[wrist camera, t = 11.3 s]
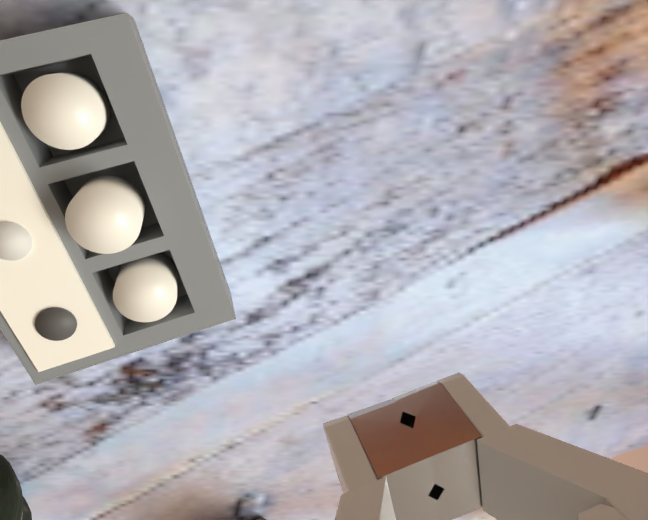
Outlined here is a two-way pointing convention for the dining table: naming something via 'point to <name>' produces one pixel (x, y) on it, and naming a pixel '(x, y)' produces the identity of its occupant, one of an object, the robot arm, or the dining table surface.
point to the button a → (65, 110)
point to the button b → (105, 215)
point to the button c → (146, 288)
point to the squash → (11, 495)
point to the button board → (63, 184)
